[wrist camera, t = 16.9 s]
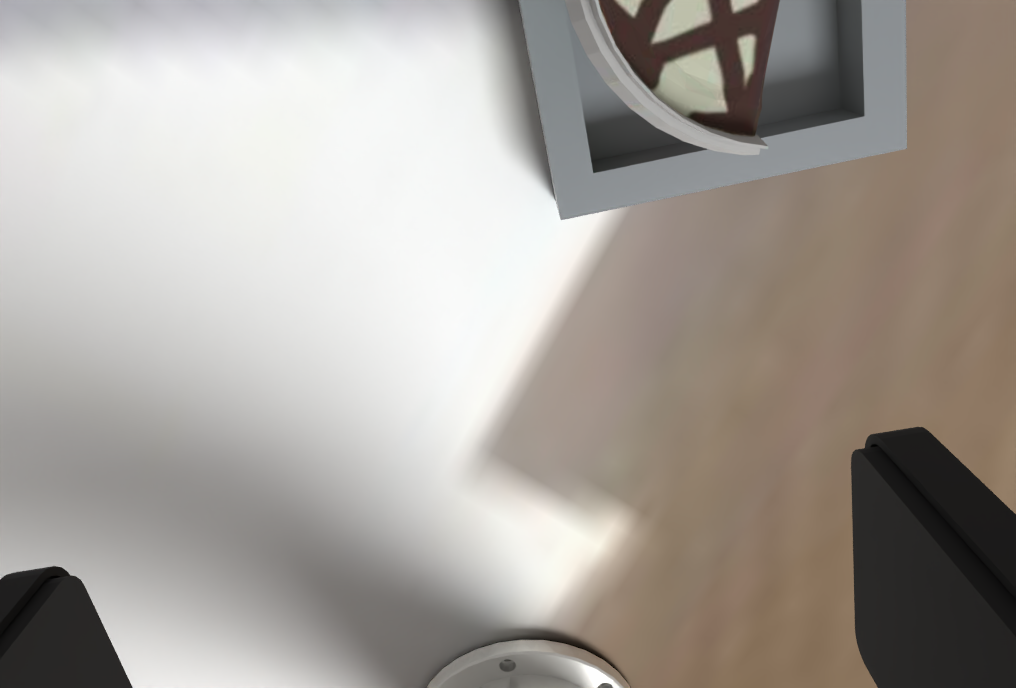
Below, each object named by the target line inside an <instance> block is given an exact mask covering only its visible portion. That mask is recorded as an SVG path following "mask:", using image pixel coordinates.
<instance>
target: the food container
mask: <svg viewBox="0 0 1016 688" xmlns="http://www.w3.org/2000/svg"><path fill="white" fill-rule="evenodd" d="M779 2H780V0H565V3H566V6H567V10H568V13H569V17H570V20H571V23H572V25H573V27H574V29H575V32H576V34H577V36H578V38H579V40H580V42H581V44H582V46H583V48H584V51H585V53H586V55H587V56H588V58H589V59H590V61H591V62H592V64H593V65H594V67H595V68H596V70H597V71H598V72H599V74H600V75H601V77H602V78H603V80H604V81H605V83H606V84H607V85H608V86H609V87H610V88H611V89H612V90H613V91H614V92H615V93H616V94H617V95H618V96H619V98H620V99H621V100H622V101H623V102H624V103H625V104H626V105H627V106H628V107H629V108H630V109H632V110H633V111H634V112H636V113H637V114H638V115H640V116H641V117H642V118H644V119H645V120H647V121H648V122H649V123H651V124H652V125H653V126H655V127H656V128H658V129H660V130H662V131H664V132H666V133H668V134H670V135H672V136H674V137H676V138H678V139H680V140H682V141H684V142H687V143H690V144H693V145H697V146H700V147H703V148H706V149H709V150H713V151H717V152H724V153H732V154H739V155H759V153H760V148H762V149H768V147H769V146H768V145H767V144H766V143H765V142H764V141H763V140H762V139H761V138H760V137H759V136H758V135H757V134H756V130H757V125H758V119H759V116H760V113H761V109H762V93H763V87H764V80H765V74H766V69H767V63H768V58H769V53H770V48H771V42H772V37H773V32H774V27H775V22H776V17H777V12H778V7H779Z"/></svg>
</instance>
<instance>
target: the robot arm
mask: <svg viewBox="0 0 1016 688" xmlns="http://www.w3.org/2000/svg"><path fill="white" fill-rule="evenodd" d="M851 475H852V517H853V559H854V602H855V633H856V639H857V644H858V648H859V651H860V654H861V657H862V659H863V661H864V663H865V665H866V667H867V669H868V671H869V673H870V674H871V676H872V678H873V680H874V681H875V683H876V685H877V687H878V688H1016V514H1015V513H1014V512H1013V511H1012V510H1010V509H1009V508H1008V507H1007V506H1006V505H1005V504H1004V503H1003V502H1002V501H1001V500H1000V499H999V498H998V497H997V496H996V495H995V494H994V493H993V492H992V491H991V490H990V489H989V488H987V487H986V486H985V485H984V484H983V483H982V482H981V481H980V480H979V479H978V478H977V477H976V476H975V475H974V474H973V473H972V472H971V471H970V470H969V469H968V468H967V467H966V466H964V465H963V464H962V463H961V462H960V461H959V460H958V459H957V458H956V457H955V456H954V455H953V454H952V453H951V452H950V451H949V450H948V449H947V448H946V447H945V446H944V445H943V444H941V443H940V442H939V441H938V440H937V439H936V438H935V437H934V436H933V435H932V434H931V433H930V432H929V431H928V430H926V429H925V428H923V427H914V428H908V429H902V430H896V431H890V432H883V433H877V434H871V435H870V436H869V437H868V438H867V440H866V443H865V448H864V449H858V450H855V451H854V452H853V454H852V458H851ZM0 688H132V685H131V683H130V681H129V679H128V677H127V675H126V673H125V671H124V669H123V666H122V664H121V662H120V660H119V658H118V656H117V654H116V652H115V649H114V647H113V645H112V643H111V641H110V639H109V637H108V635H107V633H106V630H105V628H104V626H103V624H102V622H101V620H100V618H99V616H98V613H97V611H96V609H95V607H94V605H93V603H92V601H91V599H90V596H89V594H88V592H87V590H86V588H85V586H84V584H83V583H82V581H81V580H80V579H79V578H77V577H76V576H70V575H69V573H68V572H67V571H66V570H64V569H63V568H62V567H56V566H53V567H47V568H40V569H34V570H28V571H22V572H16V573H11V574H8V575H5V576H4V577H3V578H2V579H0ZM427 688H630V686H629V684H628V683H627V682H626V681H625V679H624V678H623V677H622V676H621V675H620V673H619V672H618V671H617V670H615V669H614V668H613V667H612V666H610V665H609V664H608V663H607V662H605V661H604V660H603V659H601V658H599V657H597V656H595V655H593V654H591V653H590V652H588V651H586V650H583V649H580V648H577V647H574V646H571V645H568V644H564V643H558V642H552V641H546V640H515V641H507V642H499V643H496V644H492V645H489V646H485V647H482V648H478V649H476V650H474V651H472V652H469V653H467V654H465V655H463V656H461V657H459V658H457V659H456V660H454V661H453V662H452V663H450V664H449V665H447V666H446V667H444V668H443V669H442V670H441V671H440V672H439V673H438V674H437V675H436V676H435V677H434V678H433V679H432V680H431V681H430V683H429V684H428V686H427Z"/></svg>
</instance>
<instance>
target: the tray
mask: <svg viewBox="0 0 1016 688" xmlns="http://www.w3.org/2000/svg"><path fill="white" fill-rule="evenodd" d="M518 3H519V8H520V13H521V19H522V24H523V29H524V35H525V40H526V45H527V51H528V56H529V61H530V67H531V72H532V77H533V83H534V88H535V93H536V99H537V104H538V109H539V114H540V120H541V125H542V130H543V136H544V141H545V146H546V152H547V157H548V162H549V168H550V173H551V178H552V184H553V189H554V194H555V200H556V204H557V208H558V211H559V215H560V219H561V220H564V219H569V218H574V217H578V216H583V215H588V214H593V213H598V212H603V211H607V210H612V209H617V208H622V207H627V206H632V205H636V204H641V203H646V202H651V201H656V200H661V199H665V198H670V197H675V196H680V195H685V194H690V193H694V192H699V191H704V190H709V189H714V188H719V187H724V186H728V185H733V184H738V183H743V182H748V181H753V180H757V179H762V178H767V177H772V176H777V175H782V174H786V173H791V172H796V171H801V170H806V169H811V168H815V167H820V166H825V165H830V164H835V163H840V162H844V161H849V160H854V159H859V158H864V157H869V156H874V155H878V154H883V153H888V152H893V151H898V150H903V149H907V104H906V0H780V2H779V7H778V12H777V17H776V22H775V27H774V32H773V37H772V42H771V48H770V53H769V58H768V63H767V69H766V74H765V80H764V87H763V93H762V109H761V113H760V116H759V119H758V125H757V130H756V134H757V135H758V136H759V137H760V138H761V139H762V140H763V141H764V142H765V143H766V144H767V145H768V146H769V147H768V149H762V148H760V153H759V155H739V154H732V153H724V152H717V151H713V150H709V149H706V148H703V147H700V146H697V145H693V144H690V143H687V142H684V141H682V140H680V139H678V138H676V137H674V136H672V135H670V134H668V133H666V132H664V131H662V130H660V129H658V128H656V127H655V126H653V125H652V124H651V123H649V122H648V121H647V120H645V119H644V118H642V117H641V116H640V115H638V114H637V113H636V112H634V111H633V110H632V109H630V108H629V107H628V106H627V105H626V104H625V103H624V102H623V101H622V100H621V99H620V98H619V96H618V95H617V94H616V93H615V92H614V91H613V90H612V89H611V88H610V87H609V86H608V85H607V84H606V83H605V81H604V80H603V78H602V77H601V75H600V74H599V72H598V71H597V70H596V68H595V67H594V65H593V64H592V62H591V61H590V59H589V58H588V56H587V55H586V53H585V51H584V48H583V46H582V44H581V42H580V40H579V38H578V36H577V34H576V32H575V29H574V27H573V25H572V23H571V20H570V17H569V13H568V10H567V6H566V3H565V0H518Z"/></svg>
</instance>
